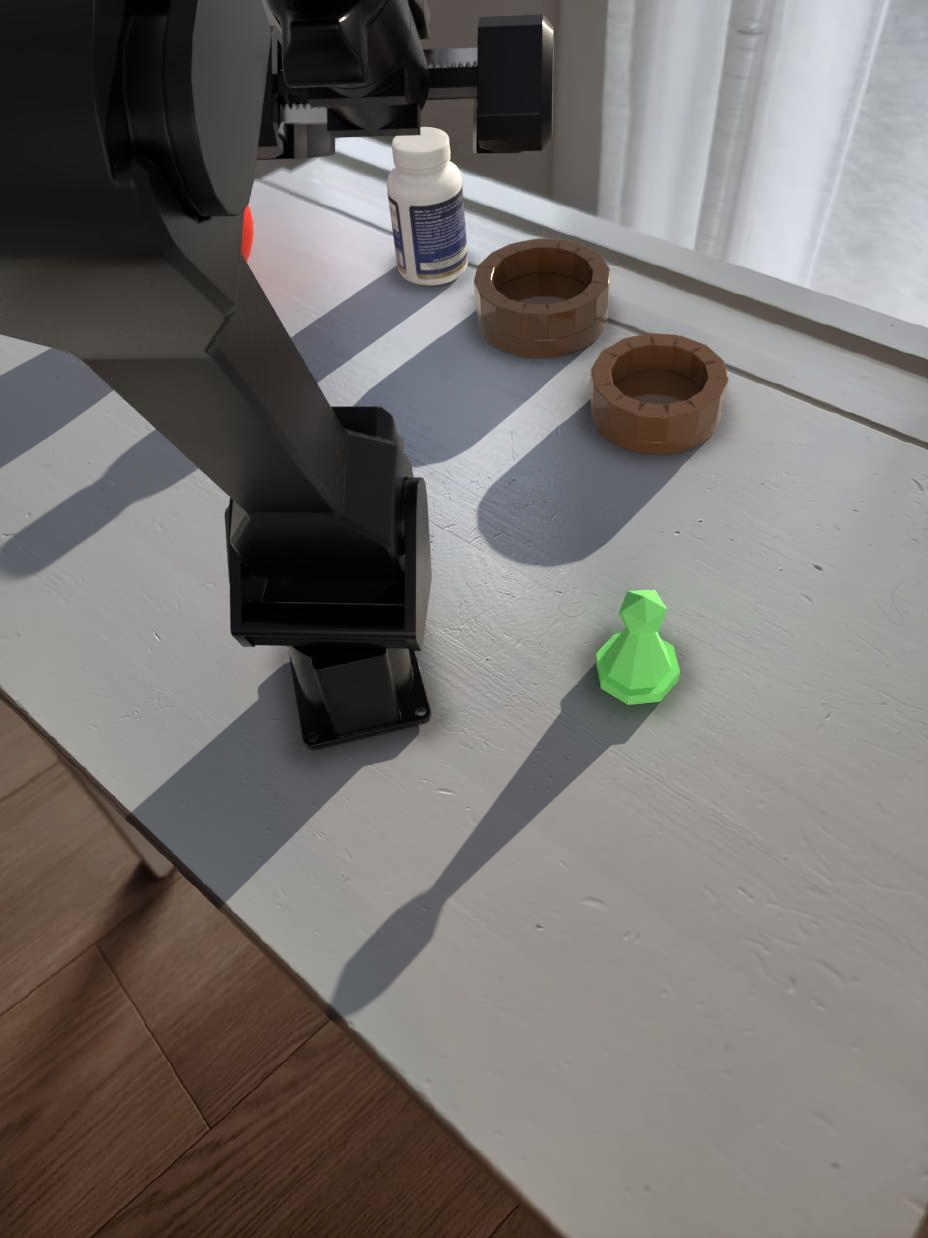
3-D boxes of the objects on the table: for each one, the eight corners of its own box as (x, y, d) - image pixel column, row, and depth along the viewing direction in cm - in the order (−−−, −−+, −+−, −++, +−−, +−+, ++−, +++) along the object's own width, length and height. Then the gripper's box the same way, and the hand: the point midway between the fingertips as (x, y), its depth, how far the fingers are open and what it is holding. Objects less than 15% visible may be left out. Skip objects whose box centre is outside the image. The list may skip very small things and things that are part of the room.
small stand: (742, 438, 62) (750, 400, 59) (613, 466, 61) (615, 428, 58) (693, 361, 67) (698, 322, 64) (573, 386, 66) (573, 348, 64)
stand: (625, 343, 68) (628, 298, 66) (496, 369, 68) (493, 325, 65) (584, 272, 74) (585, 228, 71) (464, 295, 73) (461, 252, 71)
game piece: (696, 684, 50) (710, 608, 46) (623, 719, 49) (631, 646, 45) (648, 626, 53) (658, 549, 48) (578, 658, 52) (581, 583, 47)
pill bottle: (482, 258, 76) (474, 130, 69) (444, 295, 73) (431, 165, 66) (423, 242, 78) (409, 115, 71) (384, 276, 76) (365, 149, 68)
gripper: (553, -174, 45) (557, 0, 60) (154, -150, 47) (257, 13, 62) (549, 87, 46) (554, 192, 61) (160, 100, 48) (259, 199, 63)
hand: (404, 144), depth 62 cm, fingers open, 9 cm apart
